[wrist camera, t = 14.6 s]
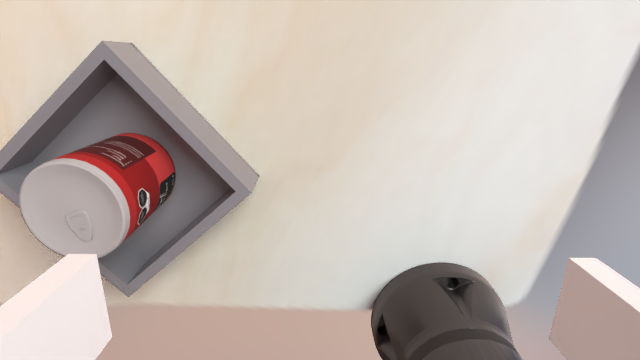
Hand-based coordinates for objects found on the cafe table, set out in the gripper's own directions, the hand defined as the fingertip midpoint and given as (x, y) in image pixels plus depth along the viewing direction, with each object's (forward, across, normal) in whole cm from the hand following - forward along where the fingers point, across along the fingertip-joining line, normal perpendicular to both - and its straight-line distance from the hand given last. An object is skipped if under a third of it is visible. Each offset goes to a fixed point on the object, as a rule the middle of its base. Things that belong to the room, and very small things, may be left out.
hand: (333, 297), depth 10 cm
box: (+28, +18, +4) cm, 33 cm away
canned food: (+27, +18, +4) cm, 33 cm away
